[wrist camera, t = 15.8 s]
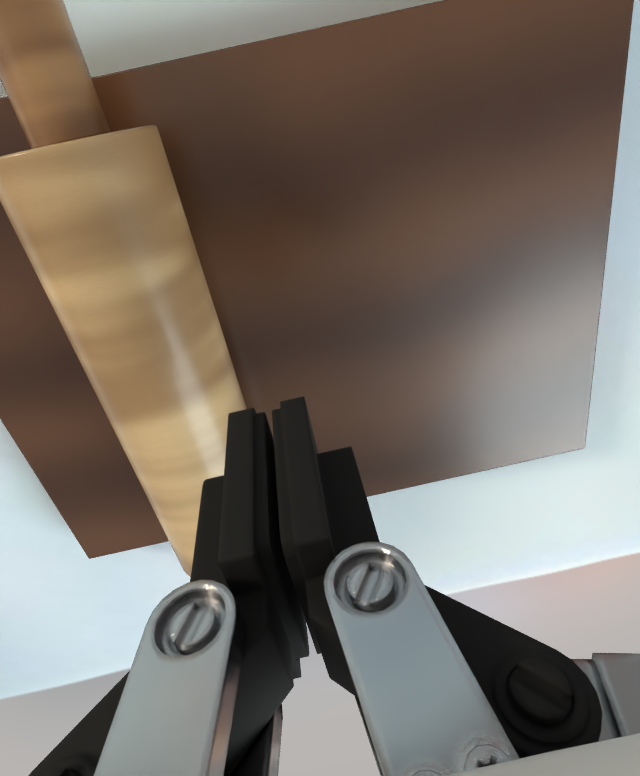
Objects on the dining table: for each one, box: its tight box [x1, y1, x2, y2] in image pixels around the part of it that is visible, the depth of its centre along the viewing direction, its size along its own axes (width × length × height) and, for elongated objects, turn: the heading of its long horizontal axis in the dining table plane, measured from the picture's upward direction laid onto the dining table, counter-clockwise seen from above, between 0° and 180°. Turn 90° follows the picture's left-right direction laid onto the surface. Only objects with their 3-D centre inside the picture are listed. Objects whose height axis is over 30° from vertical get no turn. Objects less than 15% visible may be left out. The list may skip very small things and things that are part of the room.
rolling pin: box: [0, 0, 247, 577], centre depth 16 cm, size 22×4×4 cm, turn 11°
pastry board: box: [0, 0, 634, 559], centre depth 19 cm, size 18×24×2 cm
